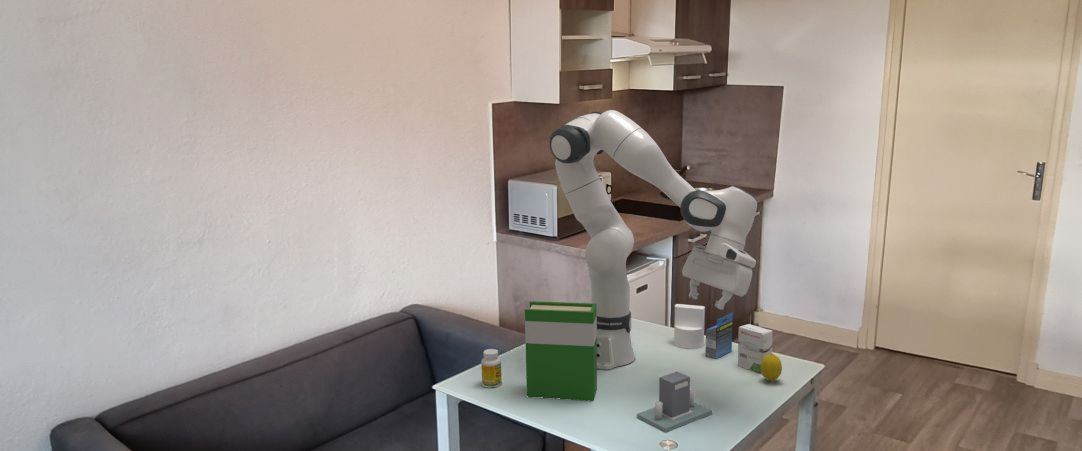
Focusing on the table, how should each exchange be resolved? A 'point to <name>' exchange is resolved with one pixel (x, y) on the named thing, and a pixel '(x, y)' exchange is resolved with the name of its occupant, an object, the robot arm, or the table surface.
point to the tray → (668, 423)
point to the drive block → (674, 394)
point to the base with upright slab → (689, 326)
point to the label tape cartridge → (719, 338)
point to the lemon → (771, 367)
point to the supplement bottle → (491, 368)
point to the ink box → (753, 346)
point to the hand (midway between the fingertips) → (705, 303)
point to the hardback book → (561, 350)
